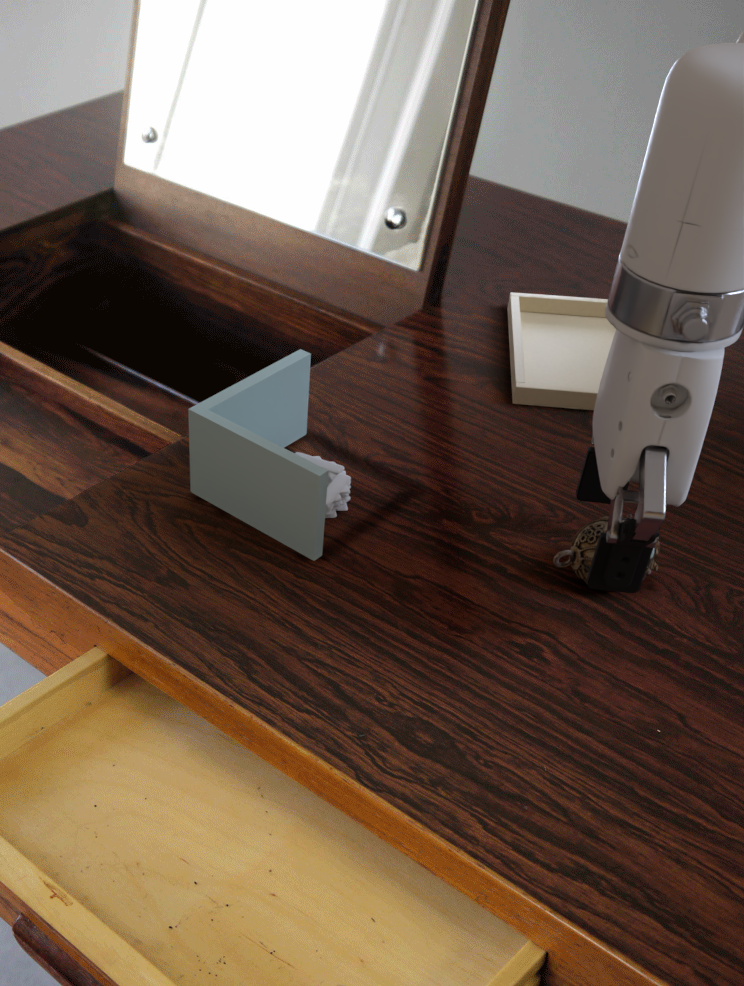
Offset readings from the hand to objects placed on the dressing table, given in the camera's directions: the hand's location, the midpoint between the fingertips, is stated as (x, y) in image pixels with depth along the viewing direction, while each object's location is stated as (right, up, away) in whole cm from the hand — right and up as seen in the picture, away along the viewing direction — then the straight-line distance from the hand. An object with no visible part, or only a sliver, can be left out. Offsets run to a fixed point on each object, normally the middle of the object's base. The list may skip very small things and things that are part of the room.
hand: (604, 542), depth 75 cm
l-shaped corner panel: (-19, +4, +10) cm, 22 cm away
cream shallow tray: (+6, +18, +25) cm, 31 cm away
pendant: (0, -3, +3) cm, 4 cm away
